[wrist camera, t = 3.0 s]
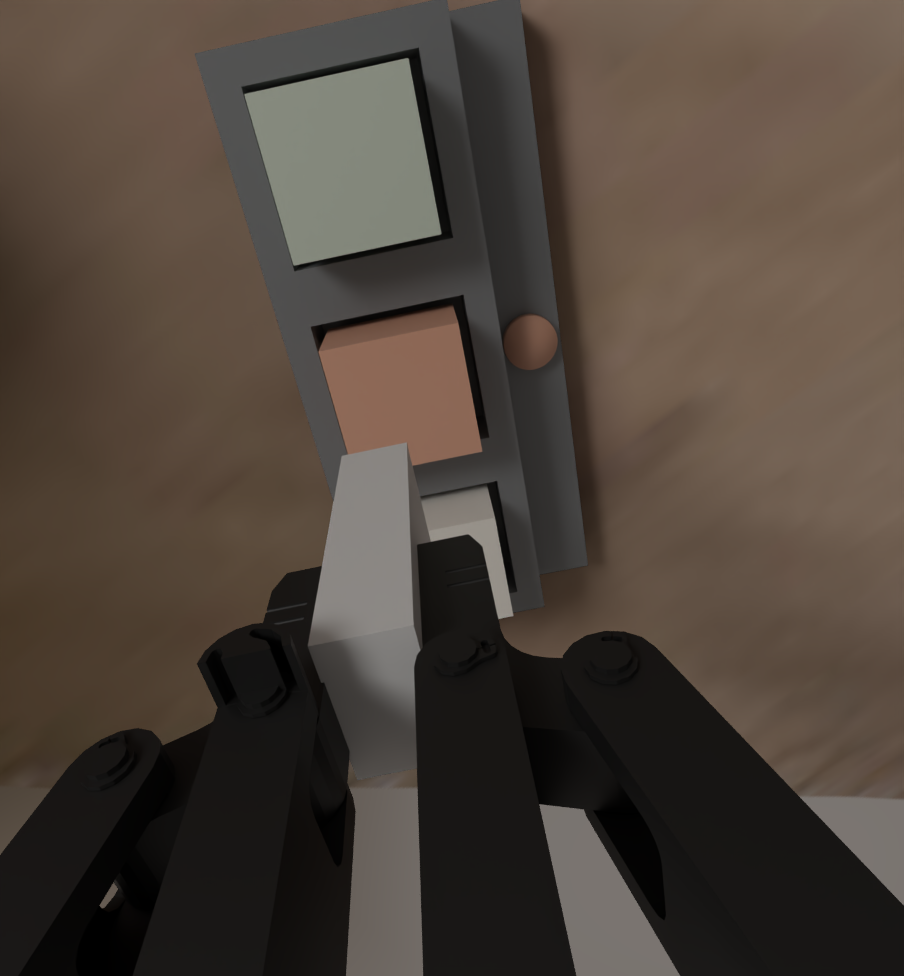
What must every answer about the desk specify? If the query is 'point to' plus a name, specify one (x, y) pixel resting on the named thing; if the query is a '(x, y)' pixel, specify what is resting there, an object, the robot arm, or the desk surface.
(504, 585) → the ivory key
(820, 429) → the desk surface
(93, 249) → the desk surface
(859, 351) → the desk surface
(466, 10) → the key console
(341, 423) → the terracotta key
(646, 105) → the desk surface
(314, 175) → the sage key
